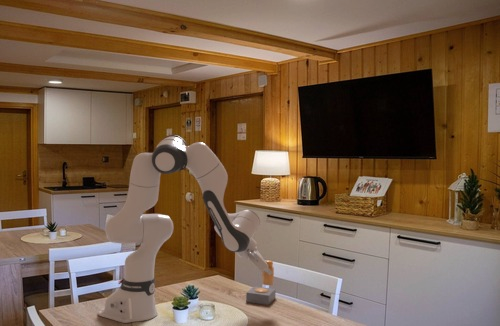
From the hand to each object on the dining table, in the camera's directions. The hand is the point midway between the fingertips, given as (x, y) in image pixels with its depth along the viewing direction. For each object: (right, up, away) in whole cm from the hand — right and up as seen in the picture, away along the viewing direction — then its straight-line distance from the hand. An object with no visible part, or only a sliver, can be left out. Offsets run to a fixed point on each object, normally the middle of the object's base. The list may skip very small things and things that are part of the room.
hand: (269, 271), depth 179 cm
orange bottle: (-1, -5, 0) cm, 5 cm away
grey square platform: (-3, -16, +14) cm, 22 cm away
